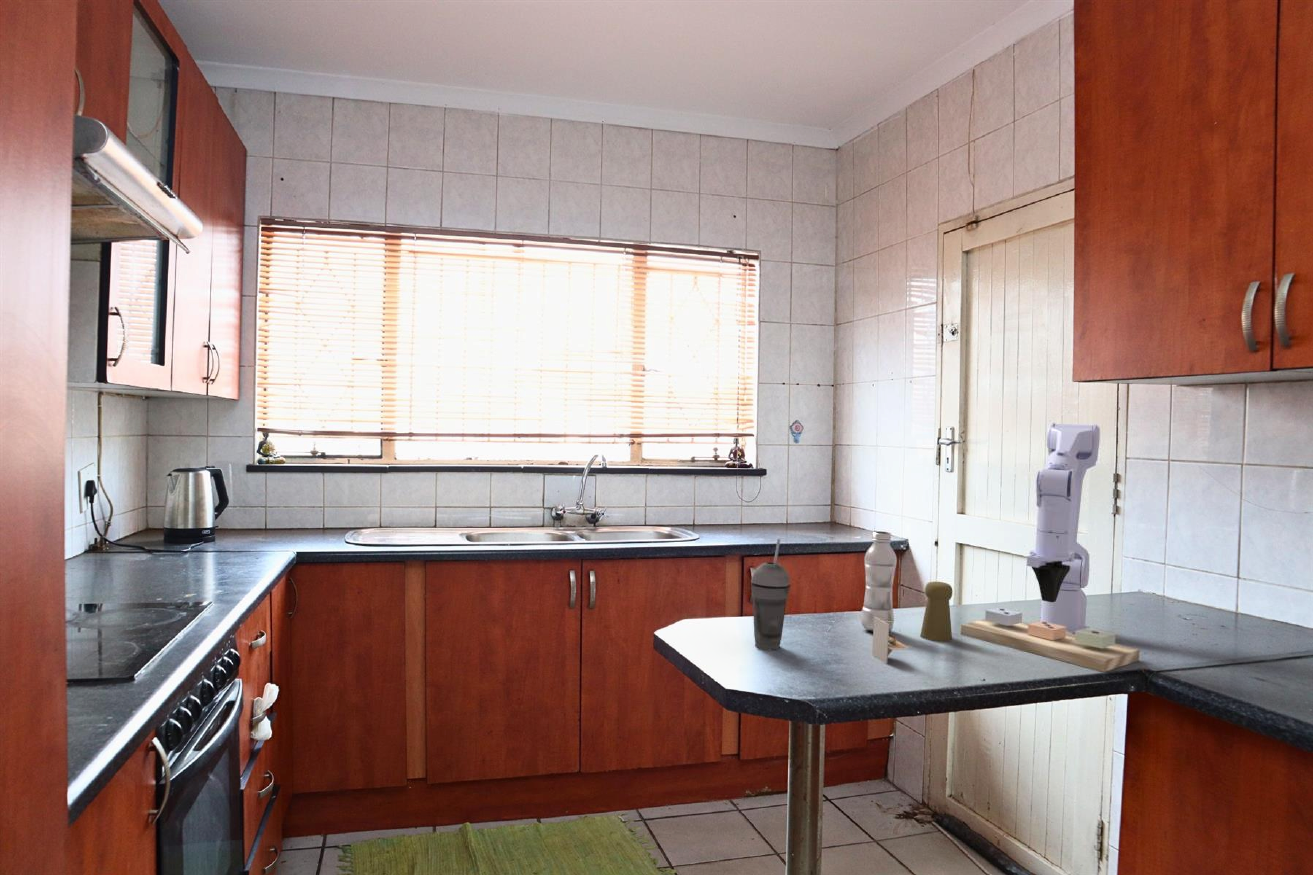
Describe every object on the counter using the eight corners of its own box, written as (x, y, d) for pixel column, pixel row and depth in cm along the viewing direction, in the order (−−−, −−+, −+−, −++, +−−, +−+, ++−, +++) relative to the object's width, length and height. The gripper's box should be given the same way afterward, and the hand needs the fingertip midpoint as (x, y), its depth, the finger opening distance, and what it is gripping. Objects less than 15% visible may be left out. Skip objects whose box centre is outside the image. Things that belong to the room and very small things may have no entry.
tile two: (998, 617, 172) (999, 606, 172) (1021, 622, 168) (1022, 612, 168) (985, 619, 169) (985, 609, 169) (1008, 625, 165) (1009, 614, 165)
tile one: (1087, 638, 158) (1087, 626, 158) (1114, 644, 154) (1115, 633, 154) (1074, 641, 155) (1075, 630, 154) (1102, 648, 151) (1103, 636, 150)
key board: (998, 625, 177) (998, 616, 177) (1138, 660, 154) (1139, 649, 154) (960, 634, 168) (961, 624, 168) (1104, 671, 146) (1104, 660, 146)
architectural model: (889, 656, 151) (891, 616, 151) (907, 668, 144) (909, 626, 144) (871, 657, 151) (873, 616, 150) (889, 669, 144) (891, 626, 144)
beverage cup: (755, 638, 158) (760, 533, 157) (792, 645, 154) (797, 538, 154) (741, 647, 151) (747, 538, 150) (780, 654, 148) (785, 542, 147)
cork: (954, 642, 161) (957, 586, 161) (921, 639, 162) (925, 584, 162) (949, 635, 167) (952, 580, 167) (918, 632, 168) (921, 578, 168)
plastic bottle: (857, 632, 166) (863, 532, 165) (862, 625, 172) (867, 529, 171) (891, 637, 163) (896, 536, 162) (895, 629, 169) (900, 532, 169)
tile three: (1040, 630, 165) (1041, 620, 165) (1065, 637, 161) (1066, 625, 161) (1027, 634, 162) (1028, 623, 162) (1052, 640, 158) (1053, 629, 158)
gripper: (1051, 526, 168) (1047, 593, 169) (1013, 530, 159) (1009, 600, 160) (1086, 531, 163) (1082, 600, 163) (1049, 535, 154) (1045, 608, 154)
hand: (1048, 601), depth 161 cm, fingers closed
